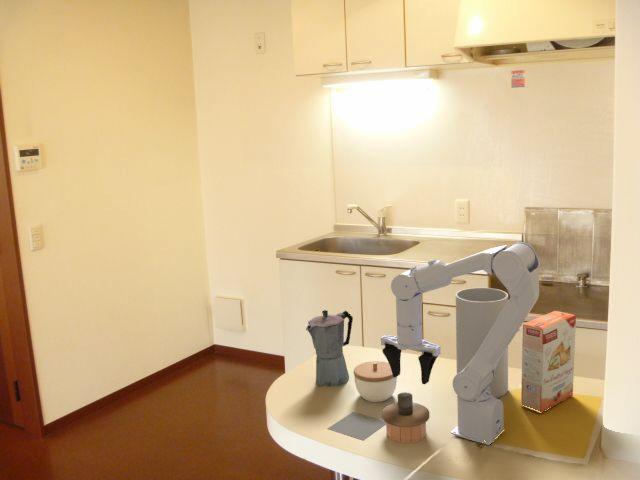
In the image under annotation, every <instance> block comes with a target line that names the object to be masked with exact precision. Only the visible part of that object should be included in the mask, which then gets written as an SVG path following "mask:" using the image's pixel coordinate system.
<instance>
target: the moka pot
mask: <svg viewBox="0 0 640 480" xmlns="http://www.w3.org/2000/svg"><path fill="white" fill-rule="evenodd" d="M321 313H322V315H319V316H318V315H317V316H314V317H313V318H312V319H310V320H308V321H307V322H308V323H307V324H308V325H307V326H306V328H305V331H307V332H308V333H309V335H310V336H311V340H312V345H313V347H314V349H315V354H316V357H315V360H316V361H315V367H316V368H315V382H316V384H317V385H318V386H320V387H325V386H326V387H339V386H342V385H345V384H346V383H348V382H349V379H350V376H349V375H350V374H349V371H348V367H347V363H346V359H345V354H344V351H343V350H344V349H343V347H346V346H347V345H349V344H350V340H351V333H352V325H353V320H354V318H353V315H351V313H349V311H347V310H345V311H343V312H339V313H337V314H328V313H329V311H328V310H322V311H321ZM346 318H347V319H348V322H347V332H346V337H345V335H344V334H345V333H344V332H345V319H346ZM344 338H346V339H345V341H344Z"/></svg>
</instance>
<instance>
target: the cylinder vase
mask: <svg viewBox="0 0 640 480" xmlns="http://www.w3.org/2000/svg"><path fill="white" fill-rule="evenodd" d="M508 300H509V293H508V292H506V291H504V290H501V289H498V288H491V287H470V288H464V289H461V290H458V291H457V292H455V331H456V332H455V336H456V338H455V342H456V343H455V345H456V347H455V348H456V375H457V374H458V373H460V372H461V371H462V370H463V369H464V368H465V367H466V366H467V365H468V363H469V362H470V361H471V360H472V358H473V357H474V356H475V354H476V353H477V351H478V349H479V348H480V346H481V345H482V343H483V341H484V340H485V338H486V336H487V335H488V333H489V331H490V330H491V328H492V327H493V325H494V323H495V322H496V320H497V318H498V317H499V315H500V313H501V312H502V310H503V309H504V307H505V305H506V304H507V302H508ZM489 385H490V390H491V395H492V396H493V397H495V398H497V399H499V398H501V397H503V396H504V395H506V394H507V392H508V390H509V346H508V347H507V349H506V350H505V352H504V353H503V355H502V356H501V358H500V360H499V361H498V365H497V367H496V369H495V377H494V380H493V382H492V383H490V384H489Z"/></svg>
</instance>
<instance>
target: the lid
mask: <svg viewBox="0 0 640 480" xmlns="http://www.w3.org/2000/svg"><path fill="white" fill-rule="evenodd" d="M381 418H382V420H383V421H385V422H387V423H388V424H391V425H394V426H398V427H414V426H418V425H421V424H424V423H425V422H426V423H427V422H428V421H429V420H430V410H429V409H428V408H427V406H425V405H422V404H420V403H418V402H414V401H413V394H412V393H410V392H406V391H405V392H400V393H398V394H397V402H395V403H390V404H389V405H387V406H385V407H384V408H383V409H382V411H381Z"/></svg>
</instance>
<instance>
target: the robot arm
mask: <svg viewBox="0 0 640 480" xmlns="http://www.w3.org/2000/svg"><path fill="white" fill-rule="evenodd" d="M507 247H508V248H507ZM538 256H539V255H538V254H537V252H536V250H535V249H534V247H533V246H532V245H531V244H530V243H527V242H525V241H517V242H514V243H512V244H511V245H510V246H509V244H503V245H500V246H496V247H491V248H488V249H485V250H481V251H479V252H477V253H474V254H471V255H468V256H466V257H464V258H461V259H457V260H455V261H452V262H449V263H448V262H446V261H444V260H442V259H439V260H436V259H435V258H434V259H433V258H432V259H431V260H428V261H427V264H425V265H422V266H421V265H420V266H418V267H417V266H412V267H410V268H409V269H408V270H406V271H403V272H402V273H399V274H397V275H395V277H394V278H393V279H392V280H391V283H390V290H391V291H392V294H393V296H395V308H396V309H395V310H396V311H395V312H396V313H395V314H396V335H388V334H384V335H383V336H381V337H380V345H381V346H384V348H382V349H381V350H382V354H383V355H384V357H385V358H386V360H387V361H388V362H387V363H389V365H390V367H391V370H392V374H393V377H397V378H398V376H400V375H401V356H402V354H401V353H402V351H406V350H409V351H415V352H420V353H422V354H420V355H419V356H418V357H417V358H418V362H419V365H420V370H421V374H420V375H421V378H420V379H421V384H422V385H427V383H429V382H430V377H431V373H432V370H433V367H434V364H435V362H436V360H437V359H438V357H439V355H441V353H442V352H441V345H438V344H436V343H432V342H430V341H427V340H425V339H423V307H422V306H423V305H422V304H423V303H422V294H425V293H428V292H431V291H435V290H438V289H440V288H444V287H448V286H450V285H451V283H452V280H453V278H457V277H460V276H461V277H462V276H464V275H468V274H472V273H475V272H477V271H478V272H480V271H484V272H485V273H487V274H489V275H491V276H493V275H495V276H496V277H497V279H498V280H499V281H500V283H501V284H502V285H503V286H504V287H505V288H506V290H507V294H508V296H509V298H508V302H507V304H506V305H505V307H504V309H503V310H502V312H501V313H500V315H499V317H498V318H497V320H496V322H495V323H494V325H493V327H492V328H491V330H490V331H489V333H488V335H487V336H486V338H485V340H484V341H483V343H482V345H481V346H480V348H479V349H478V351H477V353H476V354H475V356H474V357H473V358H472V360H471V361H470V362H469V363H468V365H467V366H466V367H465V368H464V369H463V370H462V371H461V372H460V373H458V374H457V373H456V374H455V376H454V377H453V379H452V389H453V391H454V393H455V394H456V395H457V396H456V397H457V399H456V400H457V401H456V402H457V404H456V405H457V425H456V426H455V427H454V428H453V429H452V430H450V431H449V432H450V434H452V435H453V436H455V437H459V438H462V439H466V440H469V441H473V442H476V443H479V442H483V443H485V444H484V445H486V446H491V445H492V444H493V443H494V442H495V441H496V440H495V438H496V437H497V436H498V435H499V434H500V433H501V432H502V431H503V430H504V429H505V428H504V424H505V423H504V421H505V420H504V413H505V412H504V403H503V400H502V399H499V398H495V397H493V396H492V395H491V390H490V385H489V384H490V383H492V382H493V380H494V377H495V369H496V367H497V365H498V361H499V360H500V358H501V356H502V355H503V353H504V352H505V350H506V349H507V347H508V348H509V345H511V342H512V341H513V339H514V337H515V336H516V334H517V333H518V331H519V329H520V328H521V326H523V324H524V323H525V322H524V321H525V320H526V319H527V317H528V316H529V314H530V312H531V310H532V309H533V307H534V306H535V304H536V303H537V301H538V300H539V298H540V275H539V273H540V267H541V261H540V258H539V257H538ZM484 440H485V441H486V442H484ZM494 440H495V441H494ZM493 441H494V442H493ZM492 442H493V443H492ZM483 443H482V444H483ZM491 443H492V444H491ZM490 444H491V445H490Z"/></svg>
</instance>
